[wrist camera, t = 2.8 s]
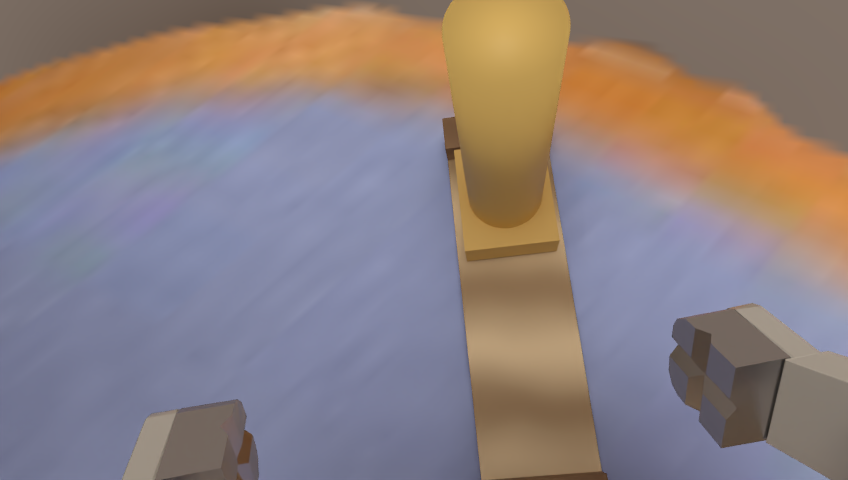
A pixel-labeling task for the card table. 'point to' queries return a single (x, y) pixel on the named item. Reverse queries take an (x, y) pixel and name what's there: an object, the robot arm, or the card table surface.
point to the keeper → (505, 120)
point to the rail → (524, 359)
